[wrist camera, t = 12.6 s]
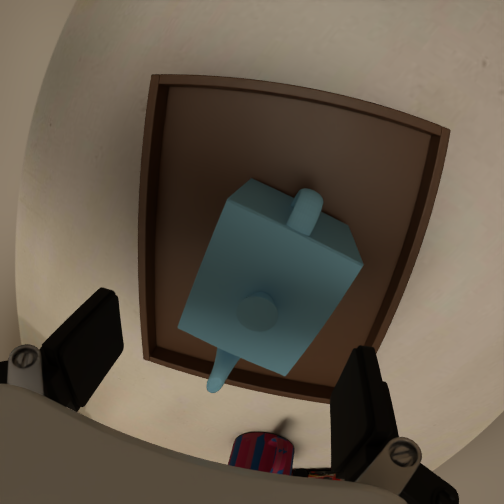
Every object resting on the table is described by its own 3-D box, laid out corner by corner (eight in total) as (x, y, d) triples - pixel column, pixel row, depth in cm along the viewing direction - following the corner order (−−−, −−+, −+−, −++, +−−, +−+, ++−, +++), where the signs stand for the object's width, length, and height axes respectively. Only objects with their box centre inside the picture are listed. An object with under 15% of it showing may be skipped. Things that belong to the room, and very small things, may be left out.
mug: (225, 448, 30) (211, 495, 24) (263, 408, 26) (250, 469, 20) (276, 465, 30) (268, 511, 24) (323, 429, 26) (320, 487, 20)
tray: (152, 345, 25) (143, 359, 23) (165, 78, 17) (150, 74, 15) (346, 389, 23) (347, 406, 22) (437, 129, 15) (451, 129, 13)
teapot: (272, 343, 22) (255, 424, 15) (197, 309, 22) (155, 379, 15) (358, 199, 17) (389, 244, 10) (264, 152, 17) (234, 167, 10)
